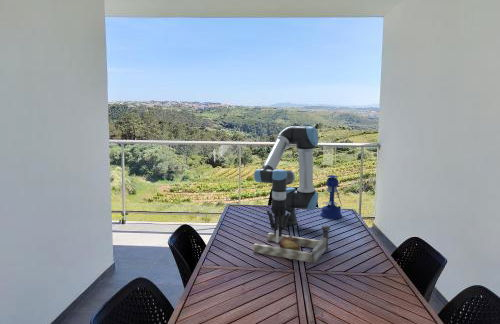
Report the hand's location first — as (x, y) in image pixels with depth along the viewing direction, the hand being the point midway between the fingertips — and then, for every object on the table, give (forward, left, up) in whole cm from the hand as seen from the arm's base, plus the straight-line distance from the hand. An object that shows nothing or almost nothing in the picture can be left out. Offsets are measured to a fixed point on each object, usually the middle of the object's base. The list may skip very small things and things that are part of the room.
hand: (277, 241), depth 195 cm
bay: (+8, +2, -4) cm, 9 cm away
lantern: (+12, +78, -4) cm, 79 cm away
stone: (+6, +1, -4) cm, 7 cm away
